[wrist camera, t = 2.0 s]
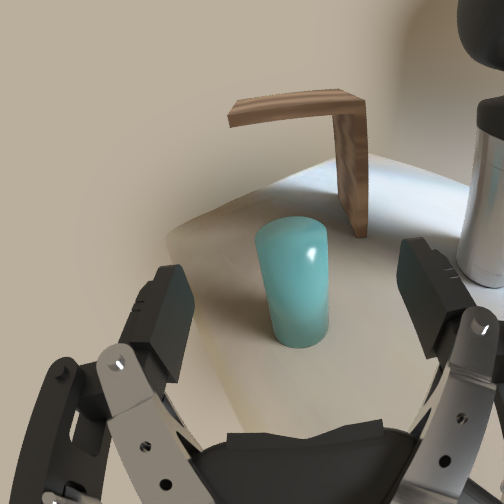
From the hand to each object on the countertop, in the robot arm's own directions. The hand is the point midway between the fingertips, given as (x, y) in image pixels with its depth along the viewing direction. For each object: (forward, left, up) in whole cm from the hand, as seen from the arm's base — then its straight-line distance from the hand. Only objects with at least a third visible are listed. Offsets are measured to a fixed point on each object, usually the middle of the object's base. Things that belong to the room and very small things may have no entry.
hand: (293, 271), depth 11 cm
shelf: (-26, -18, -17) cm, 36 cm away
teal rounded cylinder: (-9, -7, -17) cm, 20 cm away
